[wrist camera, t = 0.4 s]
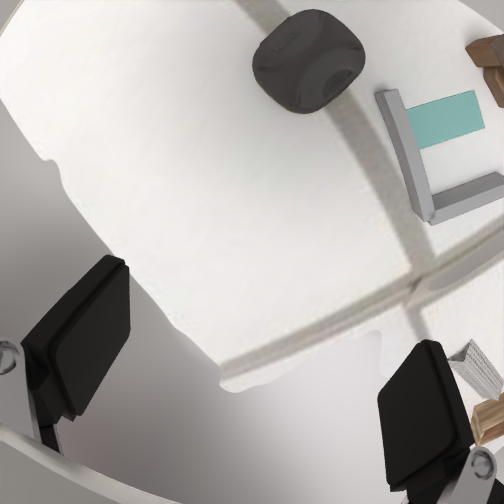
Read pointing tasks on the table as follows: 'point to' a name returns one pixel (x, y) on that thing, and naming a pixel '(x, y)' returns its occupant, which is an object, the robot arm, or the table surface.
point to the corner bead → (479, 379)
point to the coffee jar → (308, 61)
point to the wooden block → (490, 63)
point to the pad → (445, 119)
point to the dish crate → (488, 420)
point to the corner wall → (415, 175)
